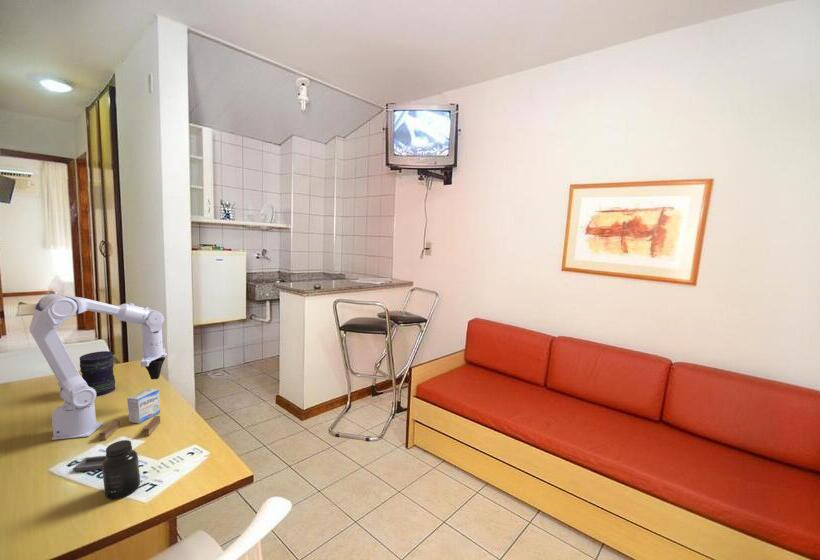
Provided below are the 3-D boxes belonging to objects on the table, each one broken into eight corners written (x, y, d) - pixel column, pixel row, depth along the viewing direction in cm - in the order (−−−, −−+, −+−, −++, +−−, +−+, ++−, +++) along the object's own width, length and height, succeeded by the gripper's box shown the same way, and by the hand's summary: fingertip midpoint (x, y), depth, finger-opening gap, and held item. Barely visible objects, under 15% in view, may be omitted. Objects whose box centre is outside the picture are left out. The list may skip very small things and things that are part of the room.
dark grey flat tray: (74, 472, 93) (74, 468, 93) (85, 461, 97) (85, 457, 97) (114, 467, 95) (114, 463, 95) (123, 457, 99) (123, 453, 99)
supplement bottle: (118, 481, 90) (114, 437, 89) (146, 480, 91) (143, 436, 89) (97, 501, 83) (92, 454, 82) (127, 500, 84) (124, 453, 82)
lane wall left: (100, 440, 107) (99, 433, 106) (114, 426, 114) (114, 419, 114) (105, 440, 107) (105, 432, 107) (120, 426, 115) (119, 419, 114)
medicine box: (139, 424, 116) (137, 399, 115) (128, 422, 117) (126, 397, 116) (160, 412, 124) (159, 389, 123) (150, 411, 125) (148, 387, 124)
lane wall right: (143, 436, 110) (143, 429, 109) (155, 423, 117) (154, 416, 117) (149, 436, 110) (148, 428, 110) (160, 422, 118) (160, 415, 117)
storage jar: (119, 390, 140) (117, 354, 138) (87, 399, 132) (84, 361, 130) (110, 384, 145) (107, 349, 143) (78, 393, 137) (75, 356, 135)
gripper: (156, 348, 120) (159, 386, 122) (173, 336, 134) (175, 370, 136) (132, 349, 119) (135, 387, 120) (152, 337, 133) (154, 371, 134)
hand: (155, 378), depth 128 cm, fingers closed
